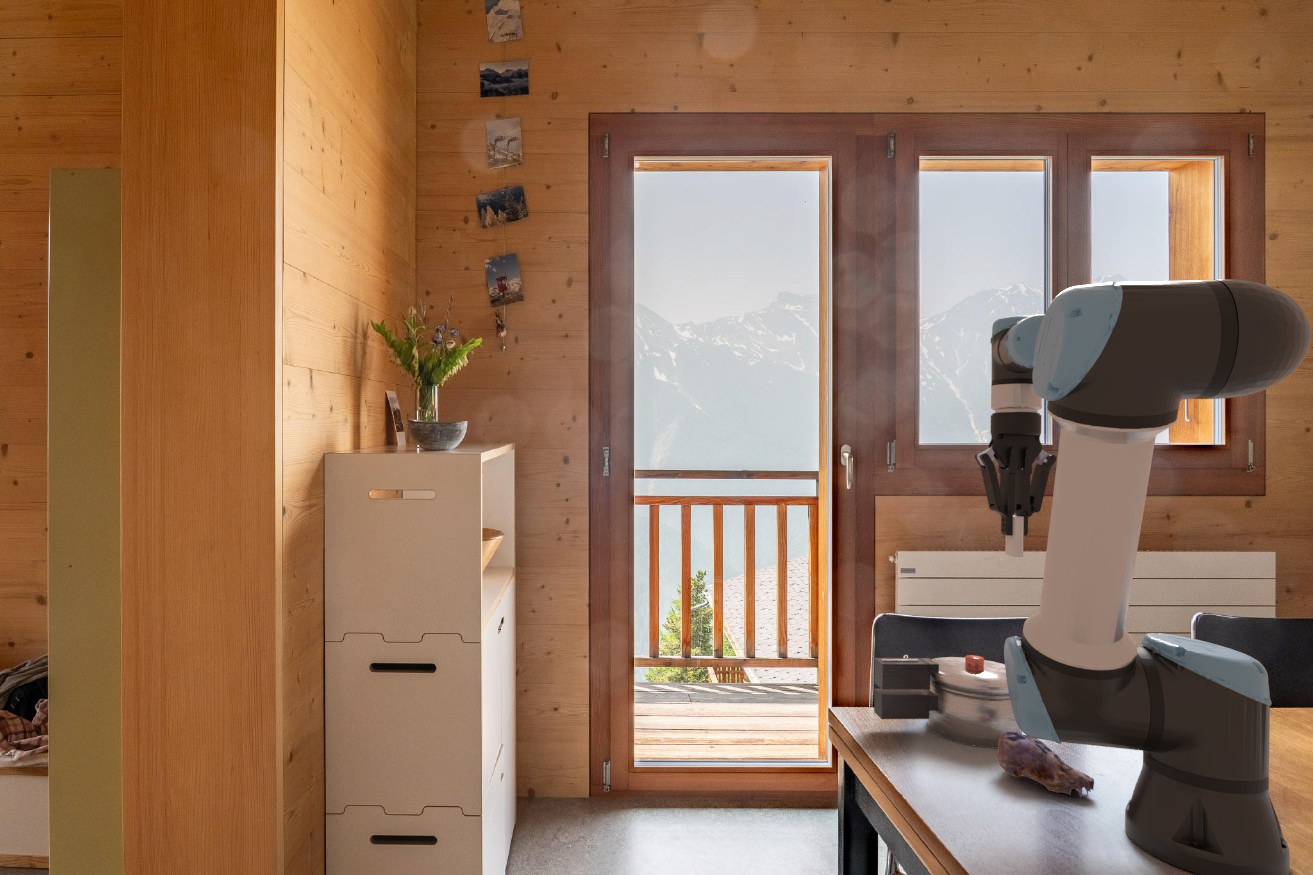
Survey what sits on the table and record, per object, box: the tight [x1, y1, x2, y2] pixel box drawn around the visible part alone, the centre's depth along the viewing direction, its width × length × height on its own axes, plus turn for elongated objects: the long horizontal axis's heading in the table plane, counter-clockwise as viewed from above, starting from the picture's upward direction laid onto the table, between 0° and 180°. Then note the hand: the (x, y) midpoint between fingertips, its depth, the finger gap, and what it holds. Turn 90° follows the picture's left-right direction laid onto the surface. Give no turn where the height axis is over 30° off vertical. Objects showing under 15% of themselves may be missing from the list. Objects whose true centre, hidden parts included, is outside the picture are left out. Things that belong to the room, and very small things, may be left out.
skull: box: [996, 731, 1095, 798], centre depth 100 cm, size 12×8×6 cm, turn 37°
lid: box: [873, 654, 1009, 694], centre depth 120 cm, size 15×24×5 cm, turn 94°
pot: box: [873, 680, 1023, 748], centre depth 120 cm, size 14×23×8 cm, turn 94°
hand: (1014, 555), depth 121 cm, fingers closed
